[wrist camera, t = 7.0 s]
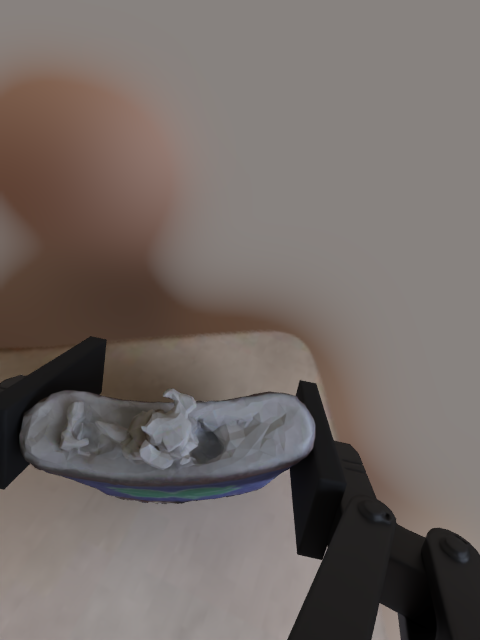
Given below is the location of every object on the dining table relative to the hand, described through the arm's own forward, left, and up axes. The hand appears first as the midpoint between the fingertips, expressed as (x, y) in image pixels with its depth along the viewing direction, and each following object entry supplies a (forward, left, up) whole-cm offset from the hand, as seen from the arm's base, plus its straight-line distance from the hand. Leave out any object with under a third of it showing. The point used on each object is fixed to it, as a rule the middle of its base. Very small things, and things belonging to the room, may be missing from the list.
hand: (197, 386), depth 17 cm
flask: (0, +3, -4) cm, 5 cm away
